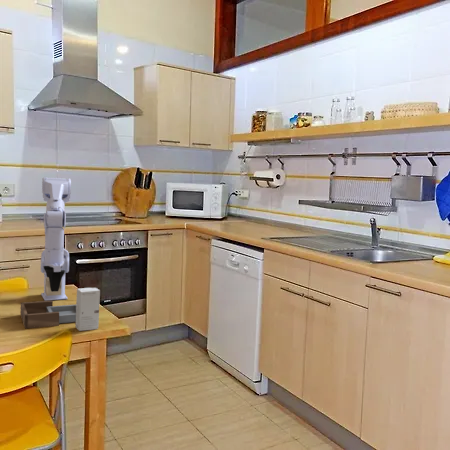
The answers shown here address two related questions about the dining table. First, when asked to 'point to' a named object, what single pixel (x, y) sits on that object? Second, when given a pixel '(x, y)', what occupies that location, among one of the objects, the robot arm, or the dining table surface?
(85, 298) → the skincare box
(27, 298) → the dining table surface
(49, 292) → the birch block
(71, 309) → the tray
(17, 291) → the dining table surface
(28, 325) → the dock
